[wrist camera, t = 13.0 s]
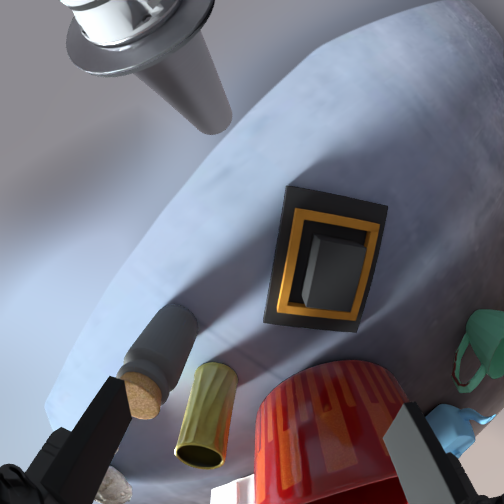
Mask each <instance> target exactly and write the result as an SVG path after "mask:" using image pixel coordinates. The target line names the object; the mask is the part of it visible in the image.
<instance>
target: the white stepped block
mask: <svg viewBox="0 0 504 504" xmlns="http://www.w3.org/2000/svg"><path fill="white" fill-rule="evenodd" d="M253 500H254V474H252V475H250V476H247V477H245V478H240V479H237V480H235V481H232V482H231V483H229V484H226V485H223V486H220V487H217V488H214V489H212V492H211V504H253Z"/></svg>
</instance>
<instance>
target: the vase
mask: <svg viewBox="0 0 504 504" xmlns="http://www.w3.org/2000/svg"><path fill="white" fill-rule="evenodd" d="M237 384H238V377H237V375H236V373H235V372H234V370H233V369H231V368H230V367H229V366H227V365H225V364H221V363H217V362H209V363H205V364H202V365H201V366H200V367H198V368H197V370H196V371H195V374H194V382H193V385H192V388H191V392H190V396H189V400H188V404H187V407H186V411H185V415H184V419H183V423H182V426H181V430H180V434H179V438H178V442H177V445H176V448H175V455H176V457H177V458H178V459H179V460H180V461H181V462H183V463H184V464H186V465H188V466H191V467H194V468H199V469H215V468H218V467H221V466H222V465H223V464H224V462H225V458H226V451H227V443H228V436H229V428H230V422H231V415H232V410H233V404H234V399H235V393H236V388H237Z"/></svg>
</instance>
